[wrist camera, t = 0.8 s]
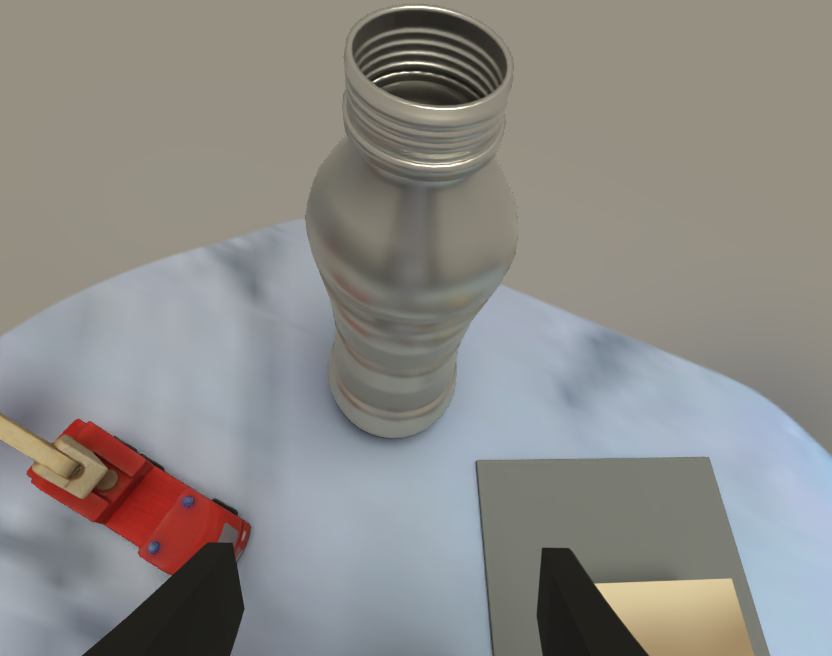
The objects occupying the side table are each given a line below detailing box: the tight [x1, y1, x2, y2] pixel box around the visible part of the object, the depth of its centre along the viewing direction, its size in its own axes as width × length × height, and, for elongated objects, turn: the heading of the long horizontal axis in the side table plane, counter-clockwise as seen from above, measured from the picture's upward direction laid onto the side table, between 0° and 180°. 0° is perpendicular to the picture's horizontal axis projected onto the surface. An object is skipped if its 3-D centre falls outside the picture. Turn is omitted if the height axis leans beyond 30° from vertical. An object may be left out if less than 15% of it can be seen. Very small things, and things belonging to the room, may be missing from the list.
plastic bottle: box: [305, 4, 518, 438], centre depth 19 cm, size 6×7×20 cm
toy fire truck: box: [0, 413, 251, 575], centre depth 20 cm, size 3×14×10 cm, turn 62°
